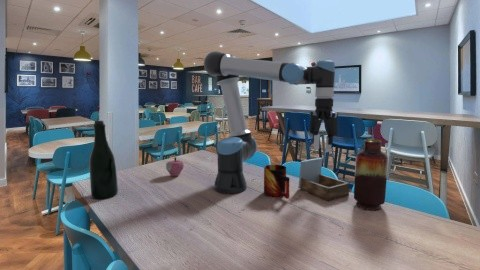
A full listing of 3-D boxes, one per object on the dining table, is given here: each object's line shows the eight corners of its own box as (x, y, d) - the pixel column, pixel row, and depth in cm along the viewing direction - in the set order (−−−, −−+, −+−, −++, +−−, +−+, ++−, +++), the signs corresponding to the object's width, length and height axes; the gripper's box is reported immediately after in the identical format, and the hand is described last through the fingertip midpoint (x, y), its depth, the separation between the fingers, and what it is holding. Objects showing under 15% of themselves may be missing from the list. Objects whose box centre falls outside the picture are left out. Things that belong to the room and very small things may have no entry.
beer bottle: (122, 195, 118) (116, 120, 113) (96, 201, 111) (89, 122, 106) (112, 189, 125) (107, 119, 120) (87, 195, 118) (81, 120, 113)
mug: (288, 201, 110) (288, 173, 108) (259, 194, 118) (259, 168, 116) (298, 194, 118) (299, 168, 116) (270, 188, 126) (271, 163, 124)
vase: (347, 203, 108) (350, 139, 104) (367, 199, 112) (371, 137, 108) (369, 214, 98) (374, 143, 94) (391, 209, 102) (396, 141, 98)
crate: (300, 190, 123) (300, 178, 122) (320, 185, 130) (320, 174, 129) (328, 201, 110) (328, 188, 109) (348, 195, 116) (349, 183, 116)
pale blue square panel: (300, 161, 122) (302, 161, 121) (321, 157, 128) (322, 158, 127) (298, 187, 124) (299, 188, 124) (318, 183, 131) (319, 183, 130)
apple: (164, 175, 147) (163, 157, 145) (178, 172, 153) (177, 155, 151) (172, 179, 140) (171, 160, 138) (187, 176, 146) (186, 158, 144)
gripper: (349, 97, 109) (346, 153, 113) (313, 97, 125) (312, 146, 129) (336, 98, 105) (333, 155, 109) (302, 97, 122) (300, 147, 125)
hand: (322, 150), depth 119 cm, fingers open, 6 cm apart
